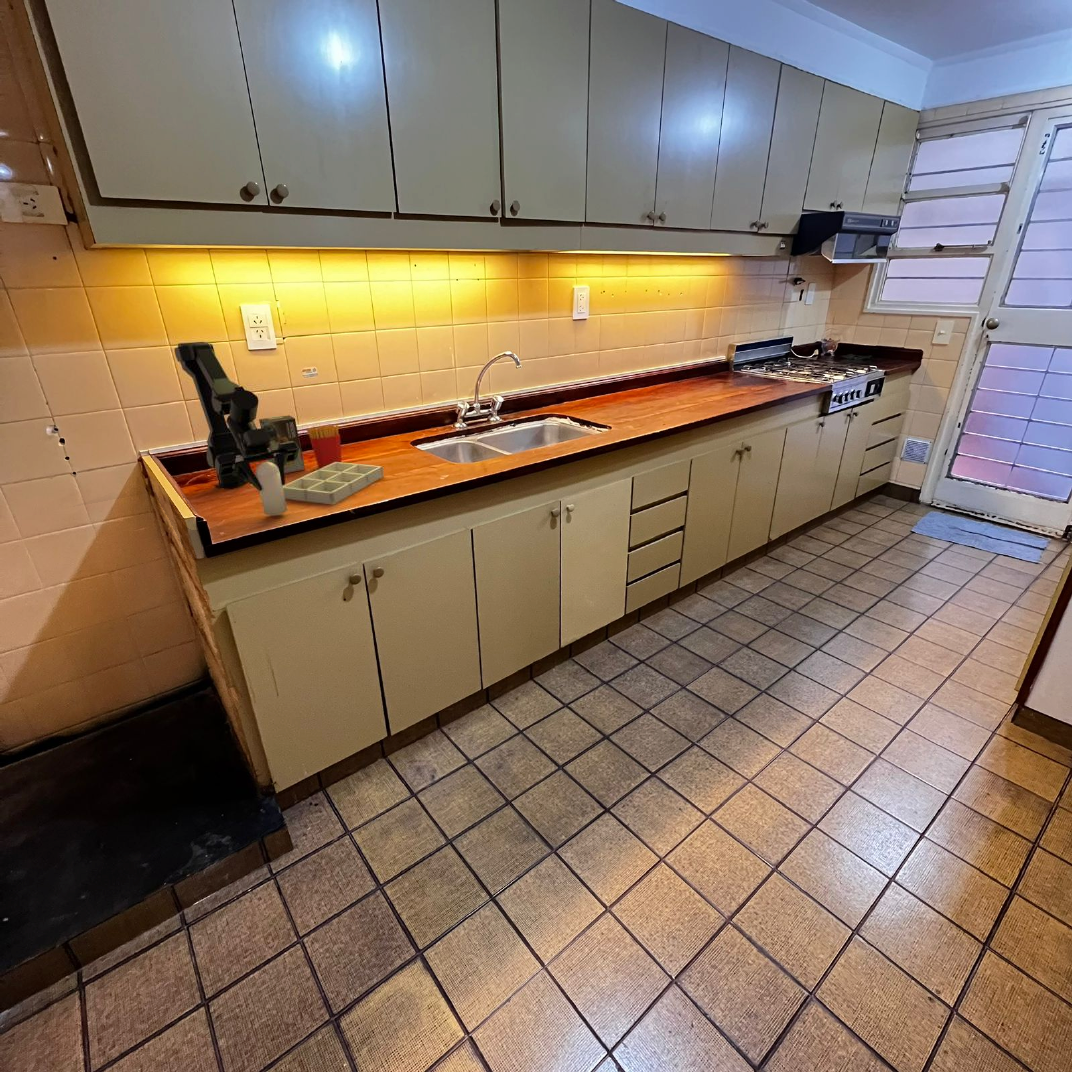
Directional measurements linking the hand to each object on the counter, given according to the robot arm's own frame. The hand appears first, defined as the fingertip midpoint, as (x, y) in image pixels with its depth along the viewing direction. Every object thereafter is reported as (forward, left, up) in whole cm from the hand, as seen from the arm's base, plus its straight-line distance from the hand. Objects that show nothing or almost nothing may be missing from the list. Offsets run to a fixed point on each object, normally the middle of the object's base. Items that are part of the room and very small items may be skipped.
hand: (272, 487), depth 136 cm
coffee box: (-25, +33, -8) cm, 42 cm away
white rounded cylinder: (-1, +1, -7) cm, 7 cm away
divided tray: (-1, +23, -8) cm, 25 cm away
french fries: (-15, +40, -8) cm, 43 cm away
